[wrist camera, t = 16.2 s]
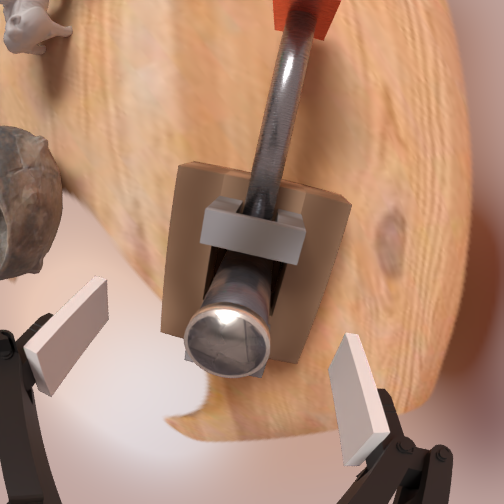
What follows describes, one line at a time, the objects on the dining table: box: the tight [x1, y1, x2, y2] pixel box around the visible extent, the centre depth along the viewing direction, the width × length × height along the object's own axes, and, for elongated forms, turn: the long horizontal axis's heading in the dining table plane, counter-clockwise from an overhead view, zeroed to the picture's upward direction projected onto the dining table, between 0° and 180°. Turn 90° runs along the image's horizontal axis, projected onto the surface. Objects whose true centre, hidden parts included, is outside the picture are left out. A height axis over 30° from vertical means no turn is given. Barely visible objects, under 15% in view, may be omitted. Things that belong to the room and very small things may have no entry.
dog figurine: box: [0, 0, 73, 55], centre depth 13 cm, size 5×13×11 cm, turn 13°
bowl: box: [0, 126, 63, 280], centre depth 21 cm, size 14×15×10 cm
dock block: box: [161, 161, 352, 378], centre depth 22 cm, size 12×14×8 cm
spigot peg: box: [184, 250, 273, 378], centre depth 20 cm, size 4×4×12 cm
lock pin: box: [243, 0, 341, 221], centre depth 16 cm, size 4×18×7 cm, turn 168°
